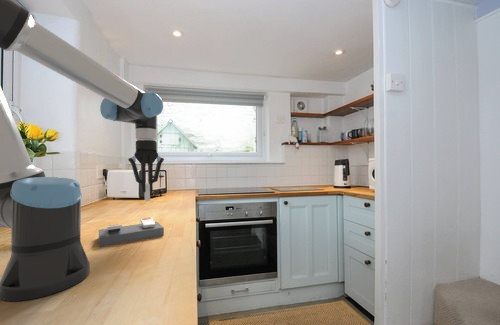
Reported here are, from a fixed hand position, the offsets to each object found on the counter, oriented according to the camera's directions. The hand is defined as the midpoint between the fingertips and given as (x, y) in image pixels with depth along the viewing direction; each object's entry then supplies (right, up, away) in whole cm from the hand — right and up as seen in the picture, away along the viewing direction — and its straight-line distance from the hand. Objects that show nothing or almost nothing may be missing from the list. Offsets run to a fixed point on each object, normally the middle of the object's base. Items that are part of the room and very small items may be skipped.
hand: (147, 200), depth 89 cm
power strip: (-3, -13, -6) cm, 14 cm away
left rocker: (-8, -8, -9) cm, 14 cm away
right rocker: (+1, -8, -3) cm, 8 cm away
